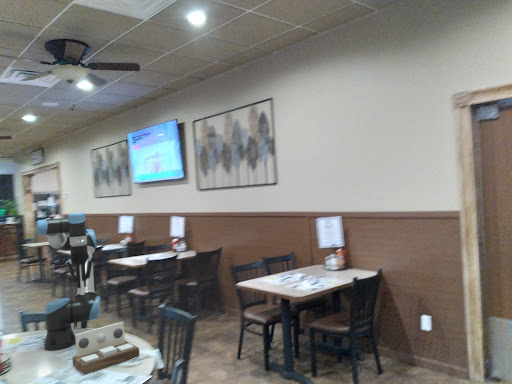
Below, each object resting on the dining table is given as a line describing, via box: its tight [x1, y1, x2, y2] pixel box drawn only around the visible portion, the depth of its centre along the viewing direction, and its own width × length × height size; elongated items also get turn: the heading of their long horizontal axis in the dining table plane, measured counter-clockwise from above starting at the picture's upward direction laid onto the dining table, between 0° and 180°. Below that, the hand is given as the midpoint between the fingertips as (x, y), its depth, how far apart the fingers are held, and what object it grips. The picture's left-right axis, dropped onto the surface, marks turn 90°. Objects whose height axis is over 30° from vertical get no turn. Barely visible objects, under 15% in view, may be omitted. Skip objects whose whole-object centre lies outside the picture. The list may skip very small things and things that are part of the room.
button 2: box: [116, 342, 135, 352], centre depth 190 cm, size 6×6×3 cm
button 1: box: [81, 354, 99, 364], centre depth 180 cm, size 6×6×3 cm
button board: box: [71, 340, 141, 376], centre depth 187 cm, size 15×25×4 cm, turn 131°
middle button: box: [99, 346, 117, 358], centre depth 185 cm, size 6×6×3 cm
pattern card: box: [74, 321, 126, 357], centre depth 191 cm, size 2×22×10 cm, turn 131°
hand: (82, 294), depth 196 cm, fingers closed
